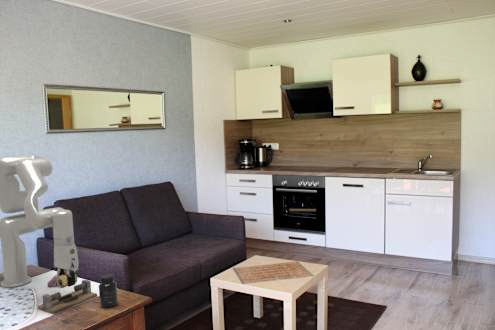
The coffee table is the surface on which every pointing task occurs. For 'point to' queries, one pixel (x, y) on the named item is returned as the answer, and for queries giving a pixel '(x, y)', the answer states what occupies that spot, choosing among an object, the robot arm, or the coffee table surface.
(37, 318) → the coffee table surface
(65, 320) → the coffee table surface
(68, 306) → the shaft bench
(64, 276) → the coupling sleeve
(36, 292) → the coffee table surface
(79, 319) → the coffee table surface
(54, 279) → the dusty red lumpy block
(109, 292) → the supplement bottle
